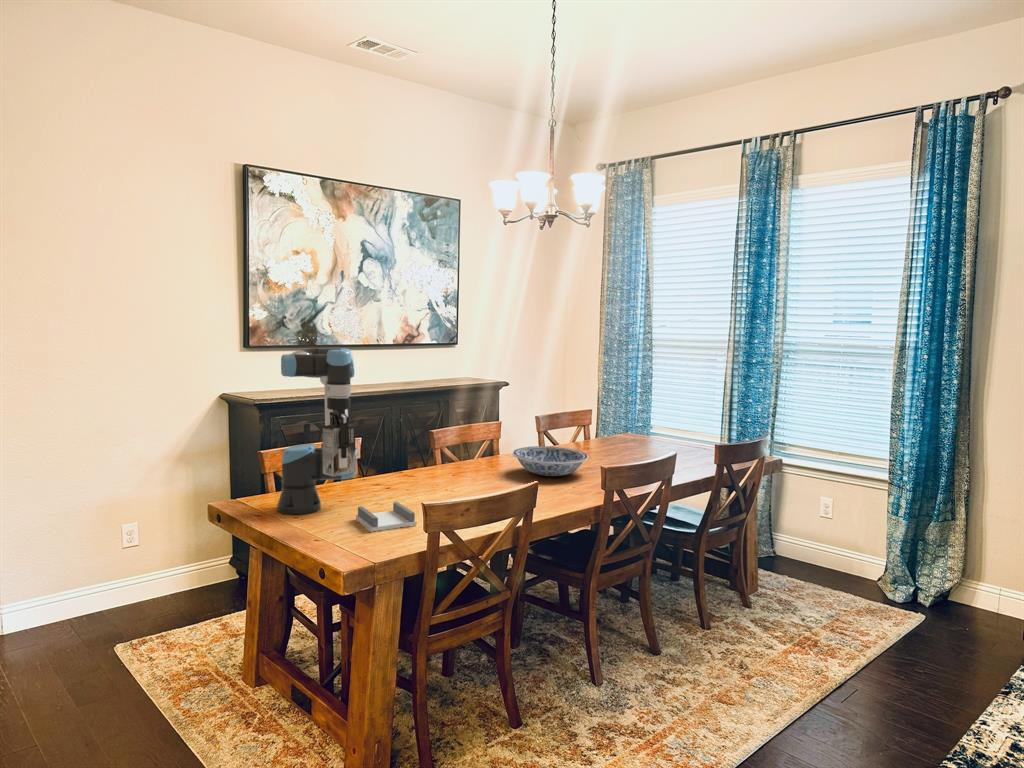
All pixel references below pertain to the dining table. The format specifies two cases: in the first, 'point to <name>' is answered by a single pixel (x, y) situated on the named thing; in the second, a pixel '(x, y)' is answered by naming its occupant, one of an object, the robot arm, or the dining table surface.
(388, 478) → the dining table surface
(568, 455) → the ceramic bowl
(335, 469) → the coffee box
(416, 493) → the dining table surface
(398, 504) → the guide cradle
